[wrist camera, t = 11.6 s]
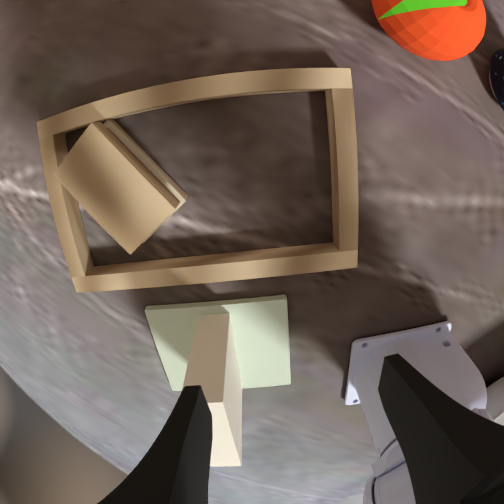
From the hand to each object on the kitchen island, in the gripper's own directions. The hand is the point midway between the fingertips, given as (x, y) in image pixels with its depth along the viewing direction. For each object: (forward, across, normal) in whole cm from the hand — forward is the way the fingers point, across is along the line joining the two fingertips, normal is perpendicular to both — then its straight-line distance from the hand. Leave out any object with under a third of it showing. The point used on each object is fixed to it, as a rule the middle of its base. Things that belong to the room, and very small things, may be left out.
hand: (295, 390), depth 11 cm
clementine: (+11, -10, -16) cm, 22 cm away
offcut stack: (+11, +8, -7) cm, 15 cm away
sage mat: (+10, +4, +6) cm, 13 cm away
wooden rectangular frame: (+11, +4, -6) cm, 13 cm away
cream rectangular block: (+10, +4, +6) cm, 12 cm away
